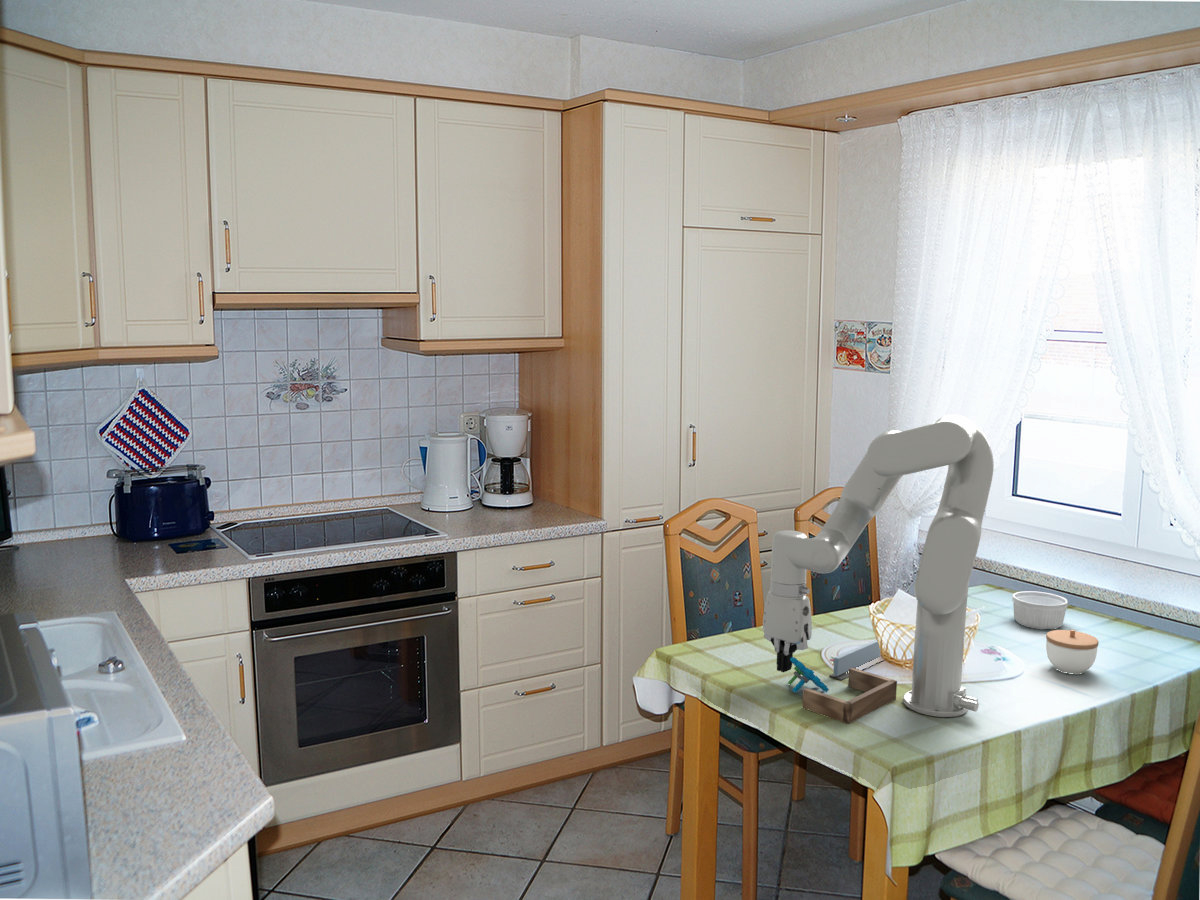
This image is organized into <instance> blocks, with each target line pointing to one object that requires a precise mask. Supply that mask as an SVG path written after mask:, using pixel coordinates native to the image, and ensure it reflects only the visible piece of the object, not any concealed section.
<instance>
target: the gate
mask: <svg viewBox="0 0 1200 900" xmlns="http://www.w3.org/2000/svg"><path fill="white" fill-rule="evenodd" d="M877 639H878V638H876V639H873V640H871V641H869V642H867V643H864V644H863V645H861V646H858V647H856V648H853V649H851V650H848V651H847V652H844V653H841V654H839V655H837V656H835V657H834V658H833V673H832V674H833V675H835V676H839V675H841V674H843V673H845V672H848V671H849V669H850V668H856V667H859V666H861V665H863V664H865V663H867V662H870V661H872V660H874V659H876V658H878V657H881V648H880V649H879V644H878V641H877Z"/></svg>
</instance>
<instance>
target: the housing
mask: <svg viewBox="0 0 1200 900" xmlns="http://www.w3.org/2000/svg"><path fill="white" fill-rule="evenodd" d="M833 674H834V673H831V674H830V675H829V676H828V677H829V678H833V679H835V680H839V681H843V680H845V679H847V678H848V681H847V687H849V688H852V689H855V690H859V691H861V692H864V693H861V694H859V695H857V696H854V697H853V698H851V699H849V700H844V699H841V698H839V697H835V696H831V695H829V694H825V693H823V692H819V691H818V690H817V691H816V690H814V689H810V688H808V687H806V688H804V689H803V690H802V707H803V708H805V709H804V710H806V709H809V710H811V711H810V712H812V711H814V712H813V713H815V712H816V713H815V714H818V713H819V714H818V715H820V714H822V715H821V716H823V715H825V716H824V717H826V716H828V717H827V718H829V717H830V718H829V719H832V718H833V719H832V720H836V721H838V720H839V721H838V722H841V723H844V724H847V725H849V724H852V723H853V722H855V721H857V720H859V719H861V718H863V717H865V716H867V715H868V714H871V713H873V712H874V711H876V710H879V709H880V708H882V707H884V706H886V705H888V704H891V702H893V701H895V700H897V689H898V688H897V687H898V686H897V685H898V681H897V680H894V679H892V678H889V677H884V676H883V675H882V676H881V675H879V674H875V673H871V672H868V671H865V670H863V671H862V670H859V669H856V668H850V669H849V673H848V672H847V674H846V672H845V673H843V674H841V675H839V676H835V675H833ZM846 677H847V678H846ZM803 708H802V709H803ZM809 710H808V711H809Z"/></svg>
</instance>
